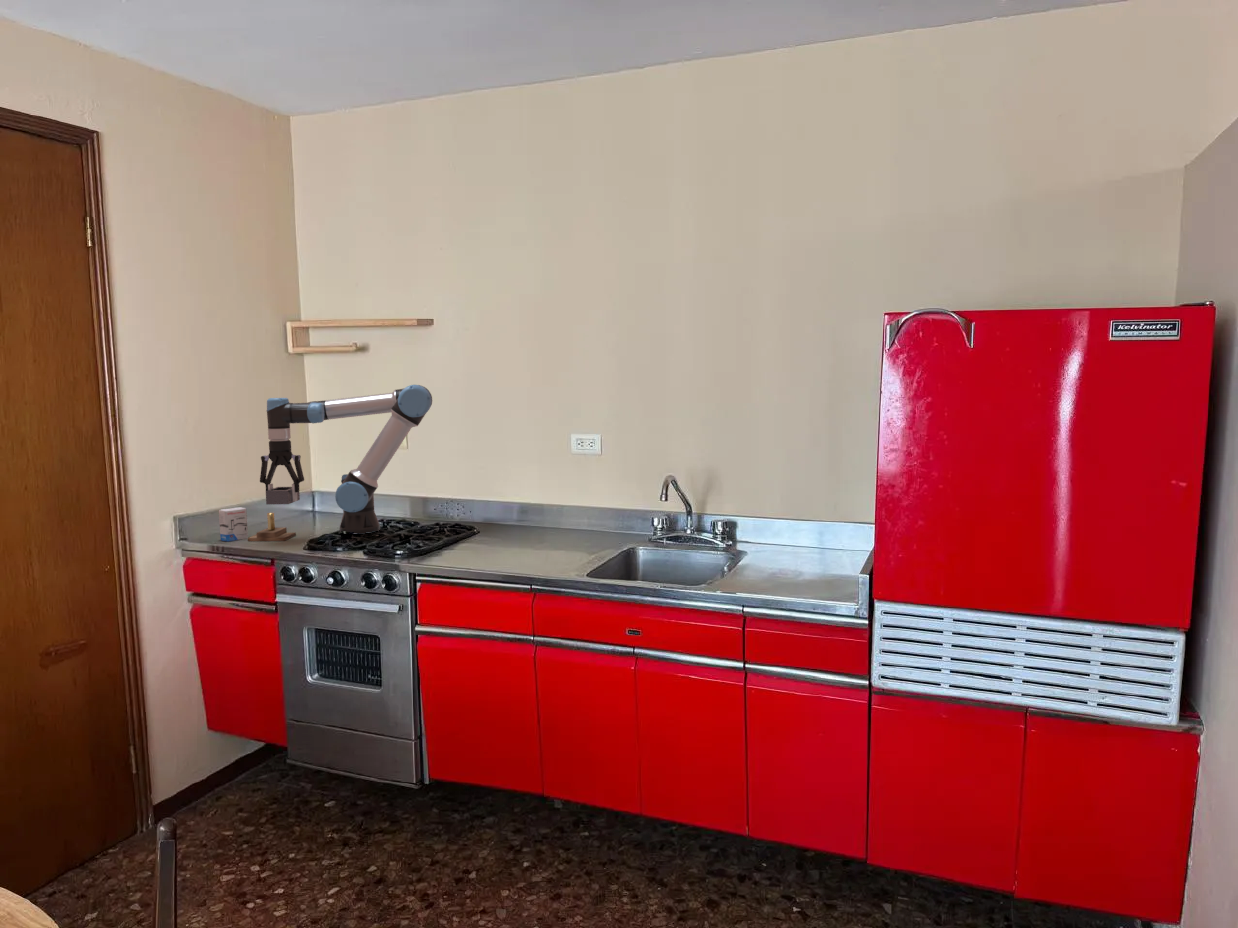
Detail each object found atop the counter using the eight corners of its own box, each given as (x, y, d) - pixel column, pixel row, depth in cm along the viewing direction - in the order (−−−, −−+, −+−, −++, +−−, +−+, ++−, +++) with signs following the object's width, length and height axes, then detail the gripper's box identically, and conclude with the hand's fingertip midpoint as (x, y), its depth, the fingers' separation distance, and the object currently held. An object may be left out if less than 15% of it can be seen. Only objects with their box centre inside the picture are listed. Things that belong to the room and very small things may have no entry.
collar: (299, 499, 307) (299, 486, 306) (288, 504, 296) (287, 490, 296) (278, 500, 307) (277, 486, 306) (266, 504, 296) (265, 490, 295)
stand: (295, 535, 315) (295, 527, 315) (284, 540, 305) (284, 532, 305) (260, 535, 316) (259, 527, 315) (247, 541, 306) (247, 532, 305)
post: (276, 529, 311) (275, 512, 311) (272, 530, 308) (271, 513, 308) (269, 529, 311) (268, 512, 311) (266, 530, 309) (265, 513, 308)
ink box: (226, 542, 305) (224, 510, 304) (220, 540, 308) (217, 509, 307) (248, 538, 312) (246, 507, 311) (242, 536, 315) (240, 506, 314)
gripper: (311, 438, 303) (315, 499, 305) (255, 439, 303) (259, 500, 305) (304, 440, 295) (308, 502, 298) (246, 441, 295) (250, 503, 298)
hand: (283, 501), depth 301 cm, fingers closed on collar, 8 cm apart
